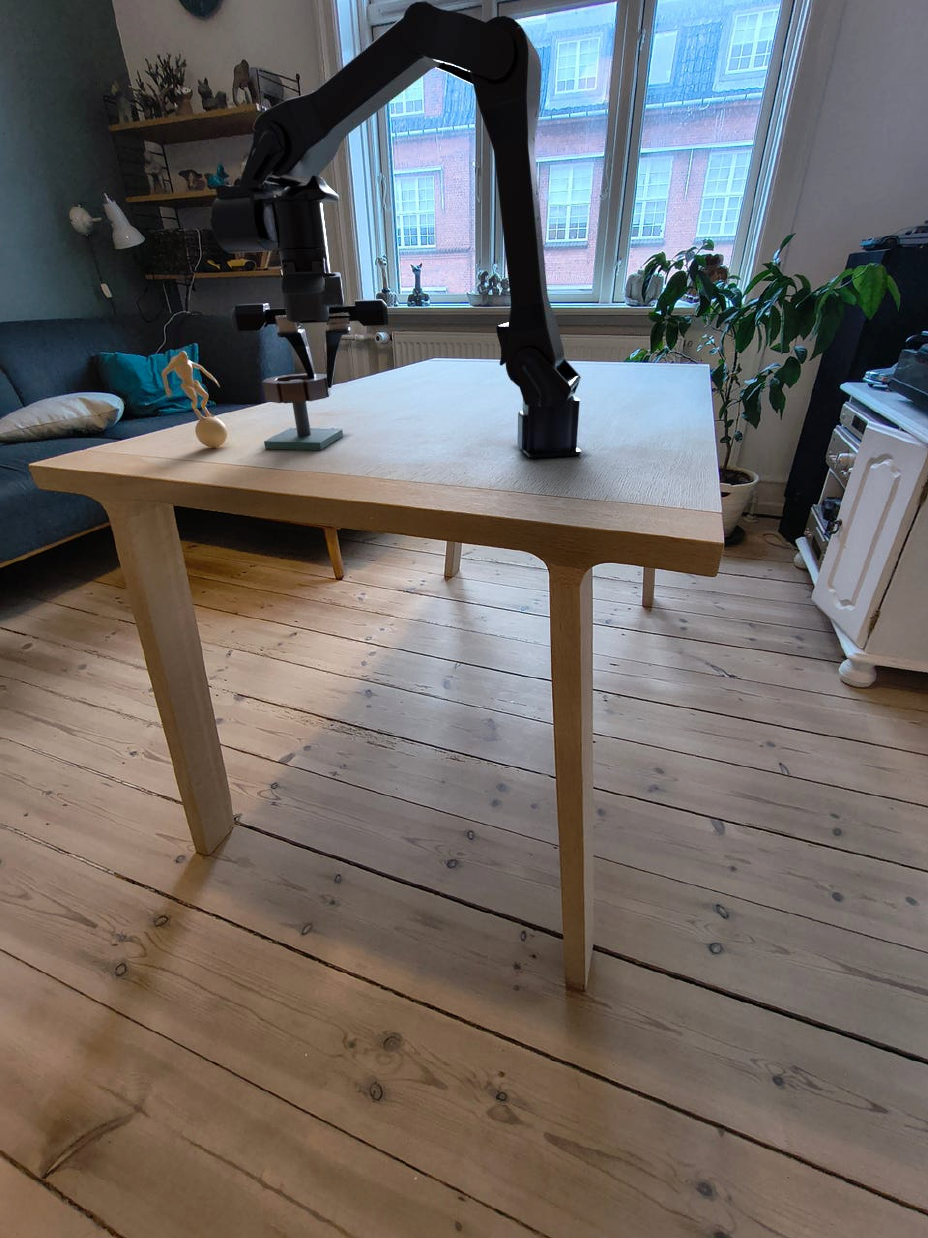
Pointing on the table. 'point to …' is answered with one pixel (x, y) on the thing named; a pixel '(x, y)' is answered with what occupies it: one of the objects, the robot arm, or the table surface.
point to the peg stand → (303, 433)
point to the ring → (295, 388)
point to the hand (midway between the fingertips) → (322, 387)
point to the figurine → (208, 427)
